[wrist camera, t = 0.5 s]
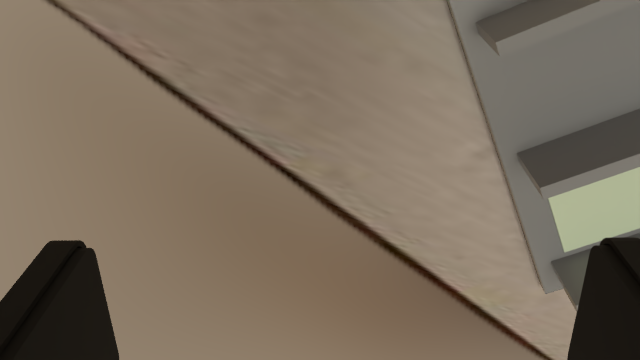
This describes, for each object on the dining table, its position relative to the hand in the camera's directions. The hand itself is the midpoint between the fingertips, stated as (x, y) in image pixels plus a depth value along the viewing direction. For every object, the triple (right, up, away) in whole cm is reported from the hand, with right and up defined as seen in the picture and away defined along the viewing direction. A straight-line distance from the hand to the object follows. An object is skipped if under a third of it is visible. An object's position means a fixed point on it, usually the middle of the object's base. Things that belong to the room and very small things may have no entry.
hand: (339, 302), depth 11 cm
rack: (+19, +7, +26) cm, 32 cm away
